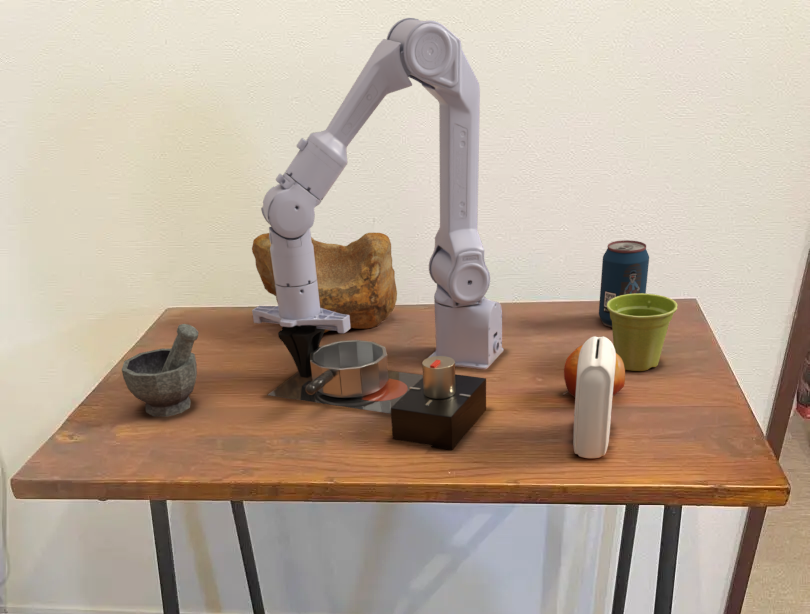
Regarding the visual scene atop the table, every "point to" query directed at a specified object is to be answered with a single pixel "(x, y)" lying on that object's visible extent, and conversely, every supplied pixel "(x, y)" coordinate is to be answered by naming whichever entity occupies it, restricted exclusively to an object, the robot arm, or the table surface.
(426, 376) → the knob
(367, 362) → the saucepan
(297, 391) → the hob
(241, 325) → the table surface
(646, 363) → the plant pot
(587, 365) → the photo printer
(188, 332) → the mortar and pestle
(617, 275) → the soda can
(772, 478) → the table surface
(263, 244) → the rough brown rock
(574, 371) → the fruit
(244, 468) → the table surface
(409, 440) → the box
